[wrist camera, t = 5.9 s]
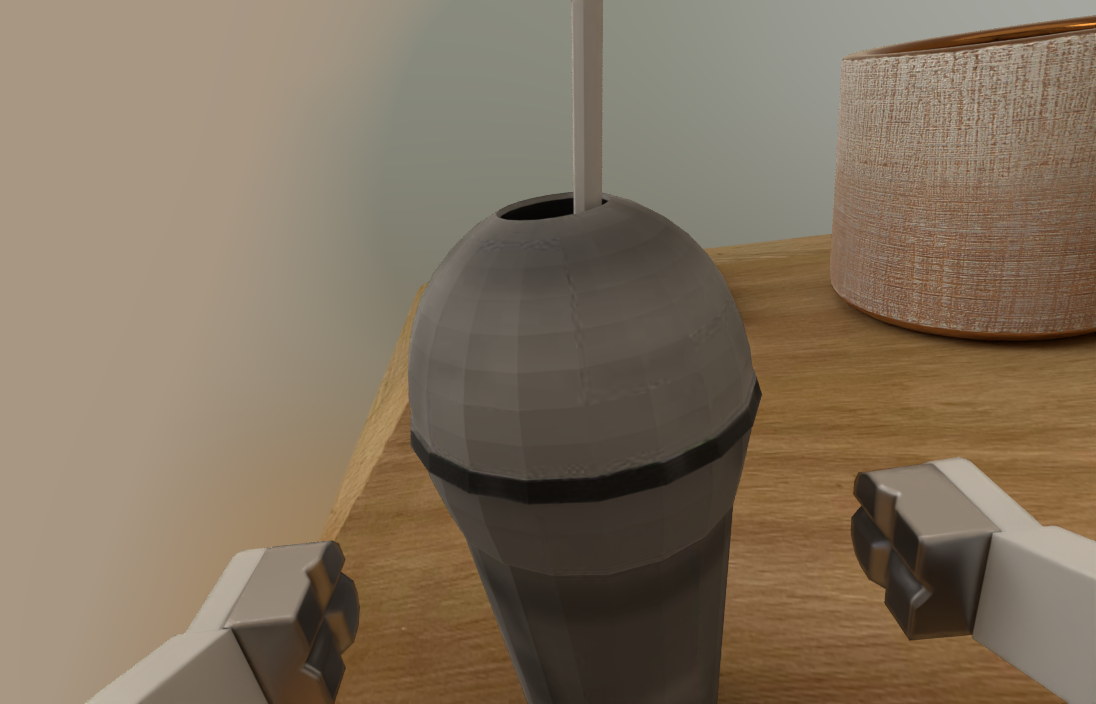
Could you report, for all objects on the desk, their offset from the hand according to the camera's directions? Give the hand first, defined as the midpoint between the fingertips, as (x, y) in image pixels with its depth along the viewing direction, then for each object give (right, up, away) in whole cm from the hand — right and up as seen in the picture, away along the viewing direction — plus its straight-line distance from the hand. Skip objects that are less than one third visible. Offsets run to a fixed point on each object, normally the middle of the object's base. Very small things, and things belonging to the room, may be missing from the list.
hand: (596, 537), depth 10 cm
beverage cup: (+2, -8, +8) cm, 12 cm away
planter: (+28, +7, +32) cm, 43 cm away
